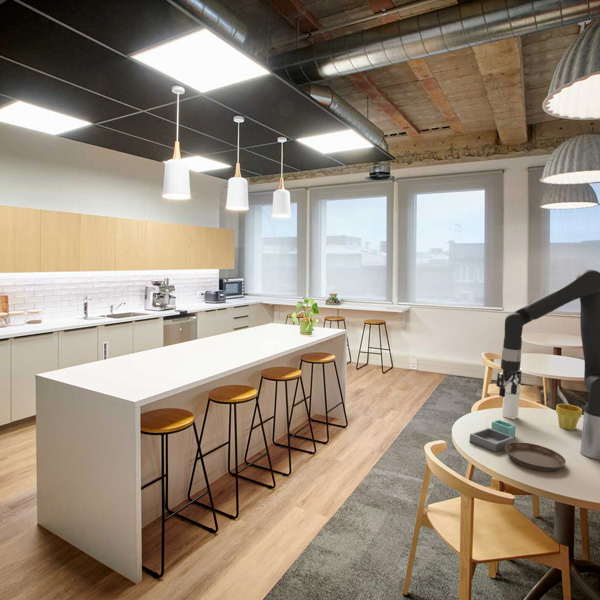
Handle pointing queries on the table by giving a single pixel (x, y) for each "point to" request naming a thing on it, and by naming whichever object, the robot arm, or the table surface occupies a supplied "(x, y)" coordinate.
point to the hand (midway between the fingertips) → (507, 395)
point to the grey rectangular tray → (491, 439)
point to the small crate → (504, 427)
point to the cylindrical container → (511, 402)
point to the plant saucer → (535, 456)
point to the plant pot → (568, 416)
